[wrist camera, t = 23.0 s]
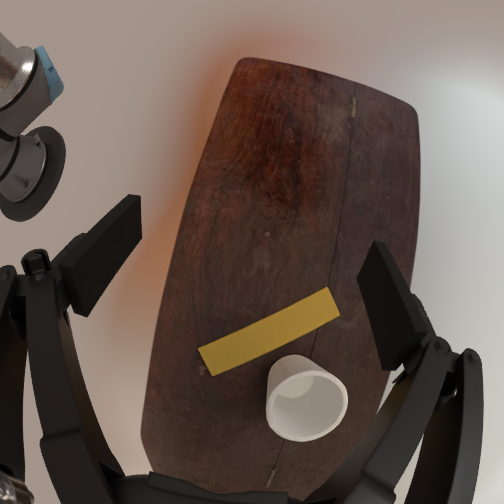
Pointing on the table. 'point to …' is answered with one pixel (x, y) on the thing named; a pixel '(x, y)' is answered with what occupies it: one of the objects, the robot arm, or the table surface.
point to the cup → (303, 399)
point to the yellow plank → (269, 332)
